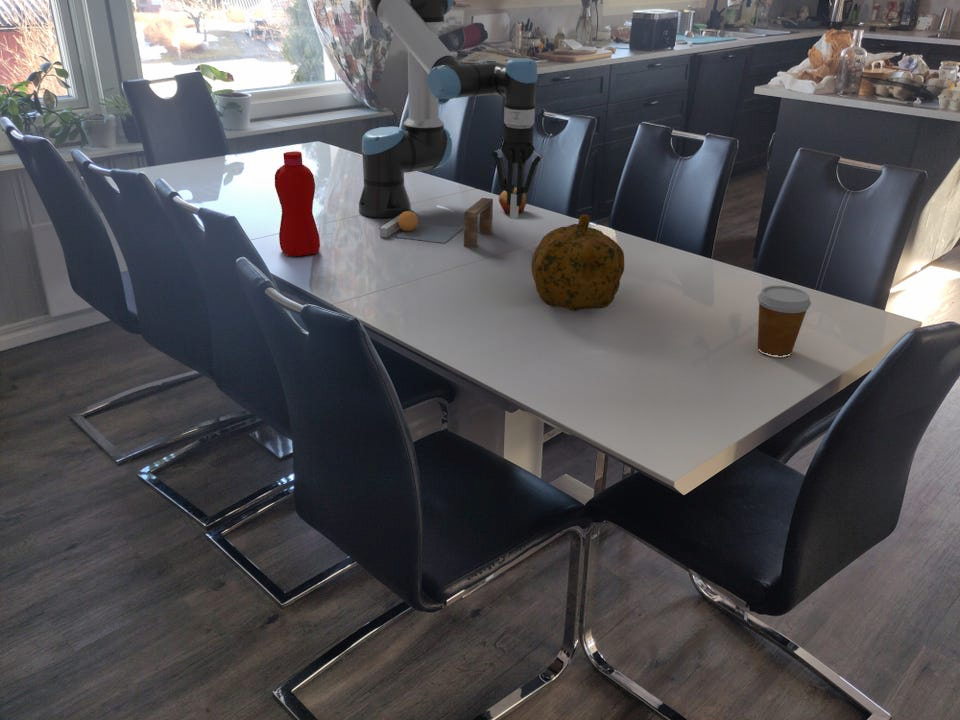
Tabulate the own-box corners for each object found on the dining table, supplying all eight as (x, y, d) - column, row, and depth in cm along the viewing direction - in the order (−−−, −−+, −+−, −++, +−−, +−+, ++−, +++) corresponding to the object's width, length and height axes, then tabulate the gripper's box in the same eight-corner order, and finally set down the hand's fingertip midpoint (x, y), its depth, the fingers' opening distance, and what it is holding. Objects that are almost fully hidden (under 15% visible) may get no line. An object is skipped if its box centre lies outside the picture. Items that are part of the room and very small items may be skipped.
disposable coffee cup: (741, 341, 165) (751, 284, 159) (787, 340, 165) (798, 284, 160) (759, 362, 156) (770, 303, 151) (808, 361, 157) (821, 302, 152)
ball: (394, 232, 225) (395, 212, 222) (402, 226, 229) (403, 207, 227) (413, 235, 223) (414, 216, 221) (420, 230, 228) (421, 210, 226)
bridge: (464, 246, 215) (464, 211, 211) (481, 230, 228) (482, 197, 224) (474, 247, 215) (475, 212, 211) (492, 231, 227) (492, 198, 223)
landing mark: (395, 237, 221) (395, 236, 221) (415, 223, 233) (415, 222, 233) (444, 243, 217) (444, 242, 217) (462, 228, 229) (462, 228, 229)
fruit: (526, 202, 249) (527, 183, 243) (525, 222, 245) (525, 203, 238) (500, 201, 250) (499, 182, 243) (498, 221, 246) (497, 201, 239)
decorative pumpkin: (505, 294, 183) (517, 205, 175) (575, 283, 195) (589, 199, 187) (565, 328, 169) (581, 233, 160) (636, 314, 181) (655, 225, 172)
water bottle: (311, 242, 216) (304, 145, 205) (323, 255, 207) (316, 154, 196) (276, 246, 212) (267, 148, 201) (286, 259, 204) (277, 157, 193)
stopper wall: (380, 236, 221) (379, 227, 220) (403, 220, 235) (403, 212, 234) (386, 237, 221) (386, 228, 220) (410, 221, 234) (410, 212, 233)
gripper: (489, 125, 204) (485, 218, 214) (540, 130, 200) (534, 224, 211) (498, 120, 210) (494, 210, 221) (548, 124, 207) (541, 216, 217)
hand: (513, 217), depth 216 cm, fingers closed
